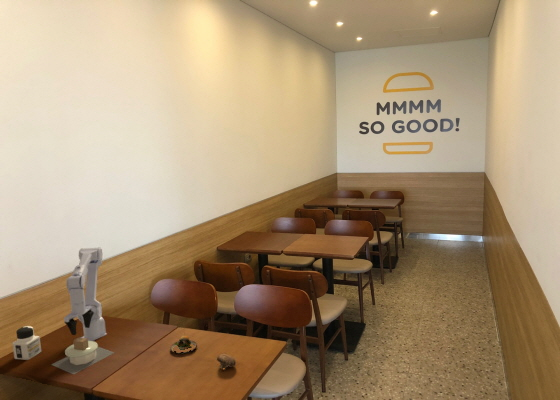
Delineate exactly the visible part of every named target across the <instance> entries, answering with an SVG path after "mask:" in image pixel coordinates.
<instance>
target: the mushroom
mask: <svg viewBox="0 0 560 400" xmlns="http://www.w3.org/2000/svg"><path fill="white" fill-rule="evenodd" d="M216 361H217V362H219V364H220V365H219V368H220V369H221V370H222V369H223V368H226V367H227V368H229V367H232V366H234V367H236V365H237V362H236V359H235V358H234V357H233V356H232V355H229V354H226V353H222V354H219V355H218V356H217V358H216ZM228 366H229V367H228ZM227 368H226V369H227Z"/></svg>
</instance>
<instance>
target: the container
mask: <svg viewBox="0 0 560 400" xmlns="http://www.w3.org/2000/svg"><path fill="white" fill-rule="evenodd" d="M16 339H17V340H15V341H13V342H12V350H13V356H14V357H13V358H14V359H15V360H22V361H23V360H25V361H28V360H31V359H32V358H34V357H35V356H37V355H39V354H40V353H42V346H41V336H40V335H35V333H34V327H33V326H31V325H26V326H22V327H19V328H18V329H17V330H16Z"/></svg>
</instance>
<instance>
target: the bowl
mask: <svg viewBox="0 0 560 400" xmlns="http://www.w3.org/2000/svg"><path fill="white" fill-rule="evenodd" d="M96 355H97V354H96V350H95V351H94V352H93V353H91V354H89V355H86V356H82V357H75V358H72V357H70V363H72V364H75V365H80V364H86V363H88V362H90V361H92V360H94V359H95V357H96Z"/></svg>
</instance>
